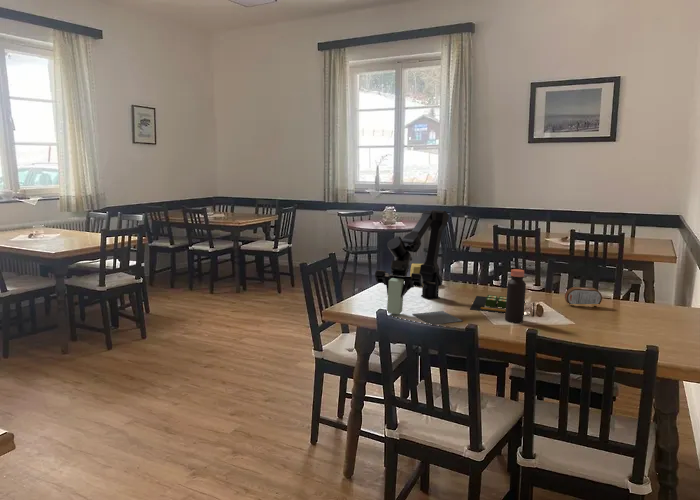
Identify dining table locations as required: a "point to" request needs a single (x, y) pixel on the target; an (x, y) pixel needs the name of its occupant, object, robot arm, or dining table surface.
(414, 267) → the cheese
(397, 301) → the block
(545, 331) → the dining table surface
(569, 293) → the tin
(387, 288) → the robot arm
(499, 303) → the sushi
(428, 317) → the mat
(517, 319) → the bottle
